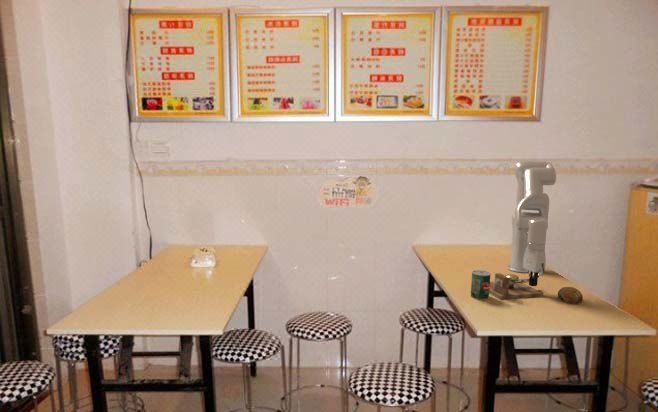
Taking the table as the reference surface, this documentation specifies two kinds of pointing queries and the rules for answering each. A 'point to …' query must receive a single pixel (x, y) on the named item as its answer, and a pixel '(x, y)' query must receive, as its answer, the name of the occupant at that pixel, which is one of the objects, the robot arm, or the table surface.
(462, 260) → the table surface
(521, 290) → the stand
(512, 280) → the lever
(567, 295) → the bread roll
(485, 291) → the canned tomato
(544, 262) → the robot arm
